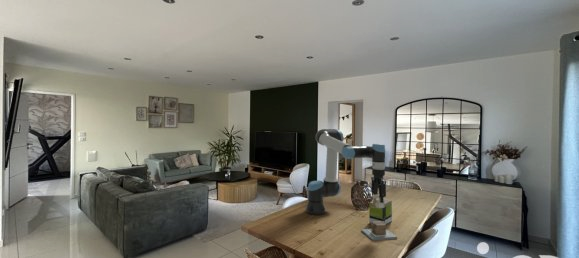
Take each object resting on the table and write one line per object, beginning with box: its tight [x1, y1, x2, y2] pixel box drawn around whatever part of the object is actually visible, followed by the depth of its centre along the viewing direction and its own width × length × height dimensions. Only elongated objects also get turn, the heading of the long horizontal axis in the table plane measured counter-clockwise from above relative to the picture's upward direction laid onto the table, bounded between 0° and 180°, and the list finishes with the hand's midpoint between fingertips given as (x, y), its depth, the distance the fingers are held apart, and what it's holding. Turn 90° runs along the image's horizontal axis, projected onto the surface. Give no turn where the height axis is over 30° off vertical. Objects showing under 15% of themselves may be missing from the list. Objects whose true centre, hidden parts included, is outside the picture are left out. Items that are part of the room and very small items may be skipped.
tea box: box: [368, 198, 393, 225], centre depth 176 cm, size 15×10×15 cm
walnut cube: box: [371, 221, 387, 235], centre depth 155 cm, size 6×6×6 cm
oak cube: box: [372, 197, 385, 208], centre depth 156 cm, size 5×5×5 cm
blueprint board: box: [360, 227, 398, 241], centre depth 155 cm, size 14×16×1 cm
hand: (378, 206), depth 156 cm, fingers closed on oak cube, 5 cm apart
